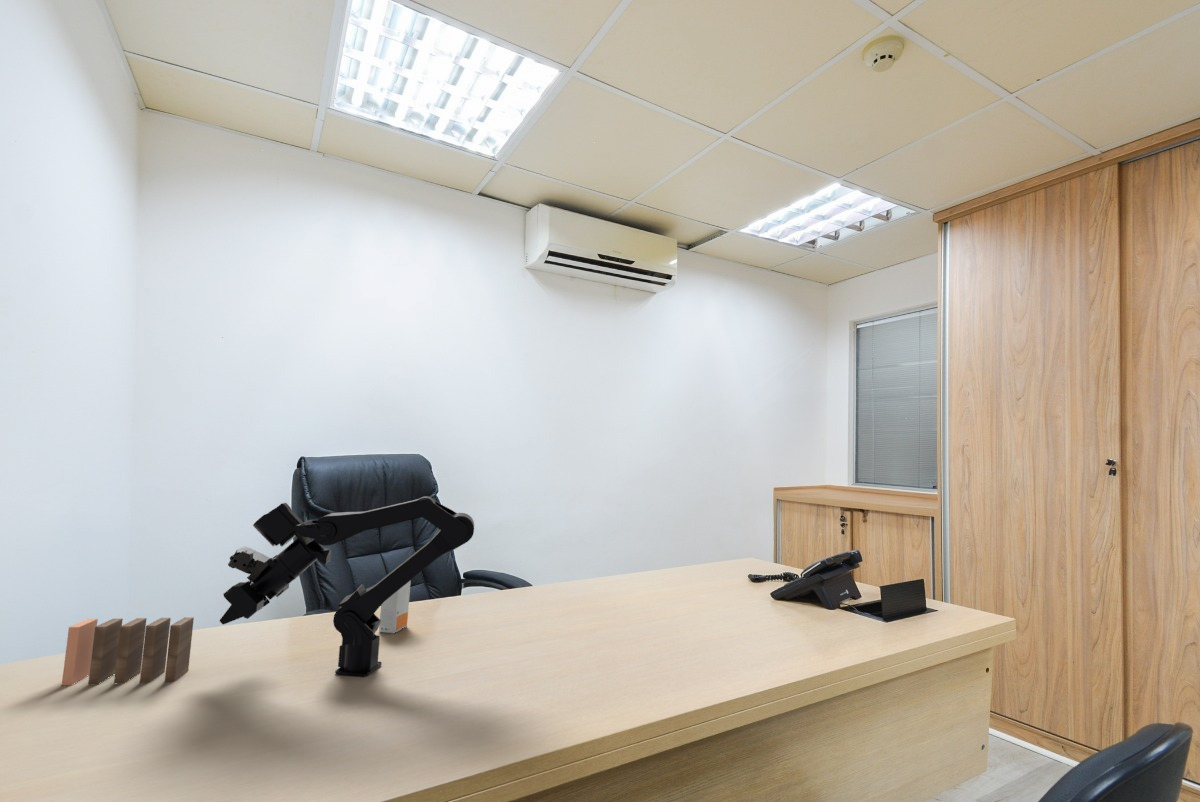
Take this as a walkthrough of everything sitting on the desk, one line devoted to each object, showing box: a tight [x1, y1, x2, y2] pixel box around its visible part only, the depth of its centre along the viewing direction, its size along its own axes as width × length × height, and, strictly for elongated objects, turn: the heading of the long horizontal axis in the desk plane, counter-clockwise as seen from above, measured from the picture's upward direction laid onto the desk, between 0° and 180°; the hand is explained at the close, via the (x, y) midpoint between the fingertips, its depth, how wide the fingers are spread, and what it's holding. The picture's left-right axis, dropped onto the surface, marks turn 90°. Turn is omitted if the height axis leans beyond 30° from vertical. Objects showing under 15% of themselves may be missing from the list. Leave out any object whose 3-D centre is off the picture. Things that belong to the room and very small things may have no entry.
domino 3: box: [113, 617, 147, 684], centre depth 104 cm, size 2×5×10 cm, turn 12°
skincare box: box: [378, 579, 412, 634], centre depth 138 cm, size 6×4×12 cm
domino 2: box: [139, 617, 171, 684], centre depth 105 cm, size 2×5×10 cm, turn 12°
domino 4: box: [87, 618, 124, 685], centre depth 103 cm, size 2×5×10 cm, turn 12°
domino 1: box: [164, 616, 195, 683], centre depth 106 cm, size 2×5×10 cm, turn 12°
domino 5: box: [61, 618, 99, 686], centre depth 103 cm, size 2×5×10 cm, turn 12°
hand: (221, 622), depth 108 cm, fingers closed
